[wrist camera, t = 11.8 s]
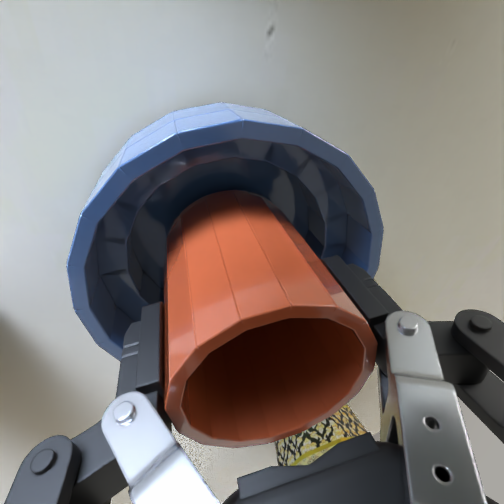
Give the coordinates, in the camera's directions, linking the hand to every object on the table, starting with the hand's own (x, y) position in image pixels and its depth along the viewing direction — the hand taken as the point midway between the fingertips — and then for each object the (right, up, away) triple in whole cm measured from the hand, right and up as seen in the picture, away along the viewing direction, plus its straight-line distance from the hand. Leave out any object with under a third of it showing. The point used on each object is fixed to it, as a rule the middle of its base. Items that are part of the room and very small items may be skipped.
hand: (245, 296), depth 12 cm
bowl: (-1, +3, +5) cm, 6 cm away
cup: (-1, +2, +3) cm, 4 cm away
